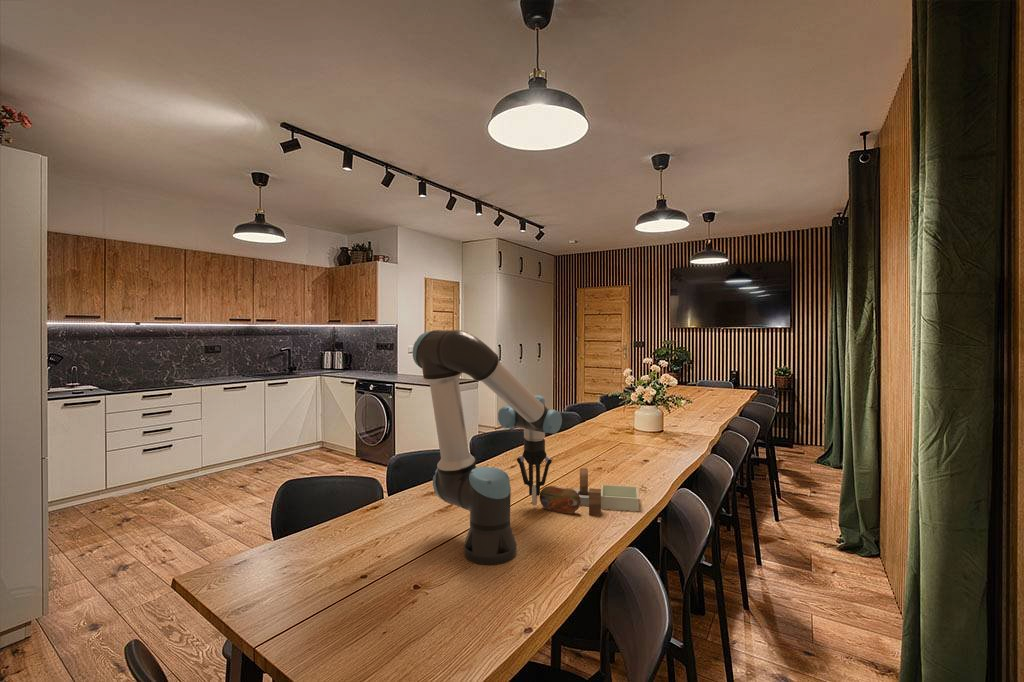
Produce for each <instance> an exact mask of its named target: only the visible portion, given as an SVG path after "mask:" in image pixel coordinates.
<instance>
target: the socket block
mask: <svg viewBox="0 0 1024 682" xmlns="http://www.w3.org/2000/svg"><path fill="white" fill-rule="evenodd" d="M572 489H573V490H575V491H576V492H577V493H578V494H579V496H580V501H581V503H580V507H581V506H584V507H589V489H588V496H587V495H580V488H572Z"/></svg>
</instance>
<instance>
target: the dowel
mask: <svg viewBox="0 0 1024 682" xmlns="http://www.w3.org/2000/svg"><path fill="white" fill-rule="evenodd" d="M579 489H580V495H587V496H588V490H589V469H588V468H584V467H583V468H579Z"/></svg>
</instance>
